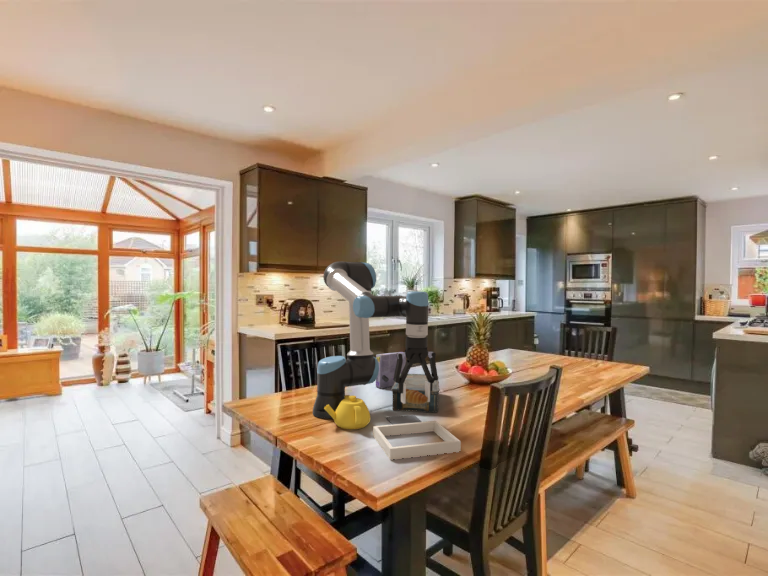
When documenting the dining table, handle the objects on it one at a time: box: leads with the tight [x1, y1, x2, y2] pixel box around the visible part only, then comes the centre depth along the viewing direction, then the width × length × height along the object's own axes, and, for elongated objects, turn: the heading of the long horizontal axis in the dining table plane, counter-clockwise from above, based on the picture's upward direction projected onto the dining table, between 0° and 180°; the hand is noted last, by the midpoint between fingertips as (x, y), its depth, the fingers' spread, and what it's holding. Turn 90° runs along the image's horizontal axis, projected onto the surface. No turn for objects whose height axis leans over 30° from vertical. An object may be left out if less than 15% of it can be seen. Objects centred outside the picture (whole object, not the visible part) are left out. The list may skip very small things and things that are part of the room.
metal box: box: [391, 373, 441, 413], centre depth 188 cm, size 21×32×10 cm, turn 173°
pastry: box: [406, 389, 428, 404], centre depth 139 cm, size 9×7×4 cm
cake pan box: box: [375, 351, 407, 389], centre depth 216 cm, size 19×5×18 cm, turn 130°
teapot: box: [324, 394, 371, 430], centre depth 155 cm, size 20×18×11 cm
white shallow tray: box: [372, 420, 462, 461], centre depth 138 cm, size 24×20×4 cm
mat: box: [386, 414, 423, 425], centre depth 159 cm, size 12×12×1 cm
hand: (415, 401), depth 138 cm, fingers closed on pastry, 8 cm apart
